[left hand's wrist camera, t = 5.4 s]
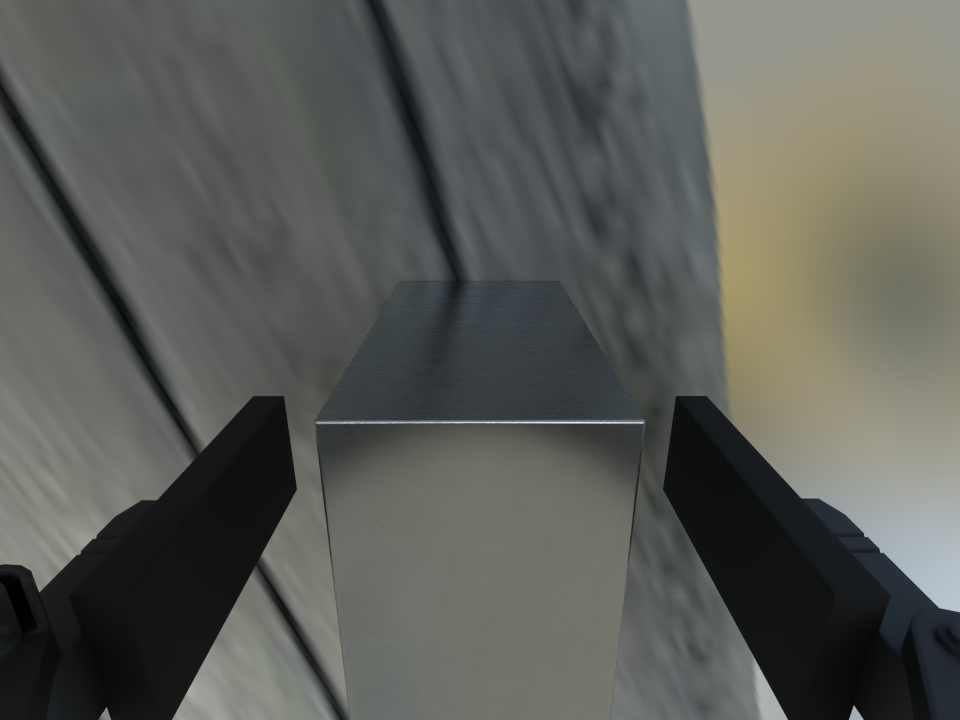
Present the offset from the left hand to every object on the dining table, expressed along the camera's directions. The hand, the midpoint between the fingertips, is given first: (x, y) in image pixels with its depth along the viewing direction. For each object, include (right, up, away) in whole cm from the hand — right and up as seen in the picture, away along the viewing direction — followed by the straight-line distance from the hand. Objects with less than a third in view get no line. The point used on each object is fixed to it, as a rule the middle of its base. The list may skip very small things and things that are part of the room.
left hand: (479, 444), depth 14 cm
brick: (0, +1, +4) cm, 4 cm away
